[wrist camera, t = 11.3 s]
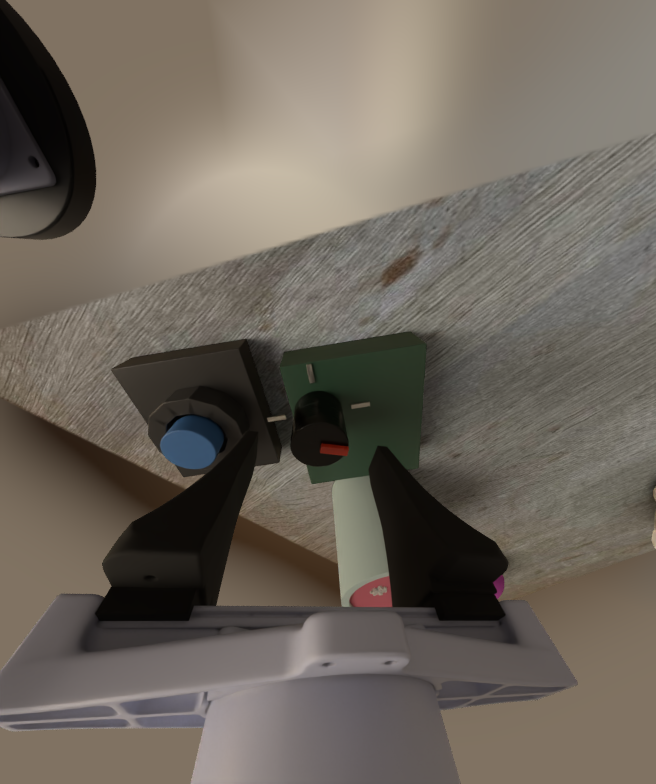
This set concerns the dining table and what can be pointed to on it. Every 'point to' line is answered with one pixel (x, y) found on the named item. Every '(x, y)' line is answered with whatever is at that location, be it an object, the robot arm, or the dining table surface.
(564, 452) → the dining table surface
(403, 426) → the panel
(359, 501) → the mug
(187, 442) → the plunger
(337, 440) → the knob
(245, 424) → the button block
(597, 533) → the dining table surface
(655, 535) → the bowl
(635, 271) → the dining table surface
